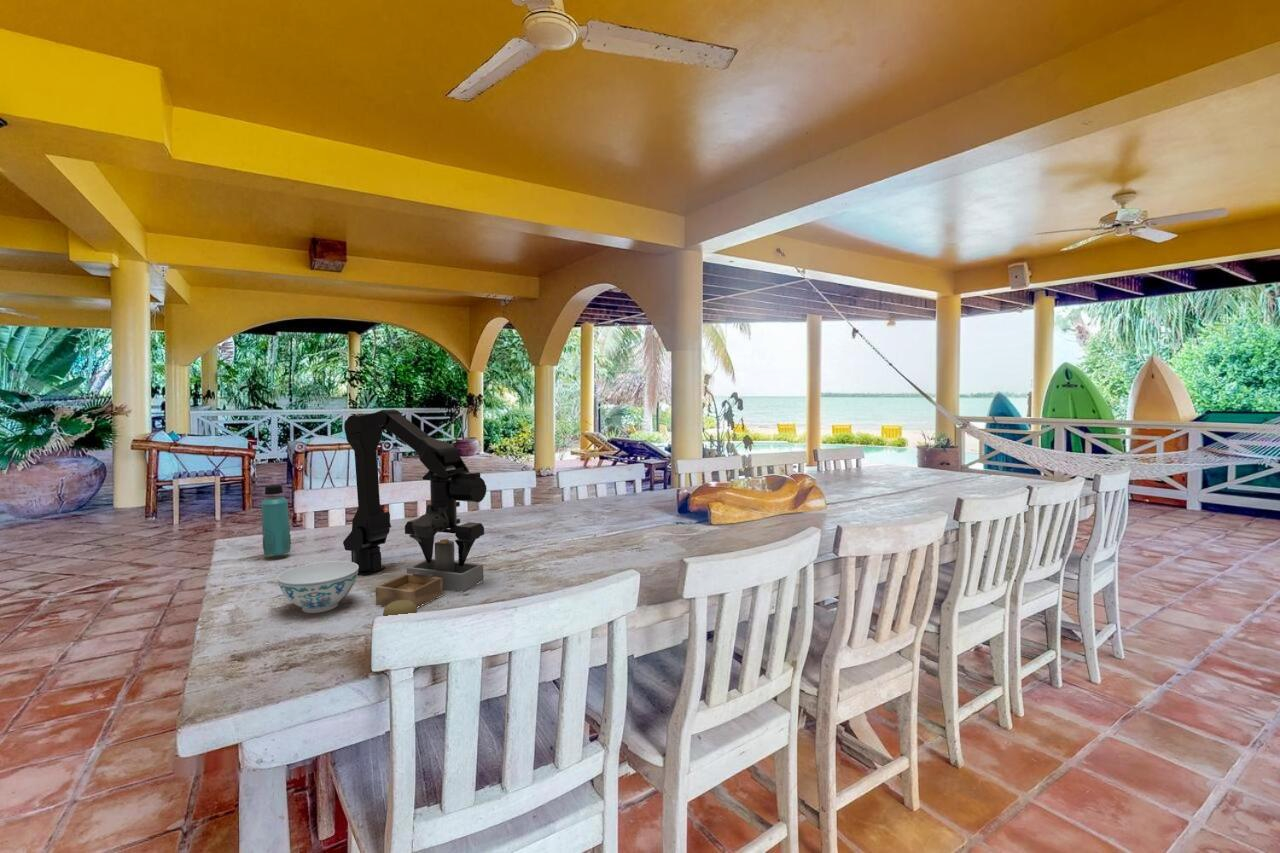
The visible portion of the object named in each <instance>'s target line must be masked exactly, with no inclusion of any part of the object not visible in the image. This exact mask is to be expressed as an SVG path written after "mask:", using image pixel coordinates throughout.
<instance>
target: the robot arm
mask: <svg viewBox="0 0 1280 853" xmlns="http://www.w3.org/2000/svg"><path fill="white" fill-rule="evenodd" d="M343 424H344V433H345V438H346V441H347V443H348V444H349V446H350V447H351V448H352V450H353V452H354V462H355V463H354V465H355V479H356V480H355V481H356V491H357V492H356V493H357V505H358V506H357V509H356V512H355V514H354V516H353V518H352V520H351V521H352V523H351V531H350V533H349V534H348V535H347V537H345V539H344V540H343V542H342V543H343V544H342V545H343V547H344V550H345V551H349V552H351V562H353V563H356V564H357V565H358V566H359V569H358V574H357V575H361V576H368V575H371V574H373V573H376V572H379V571H381V570H384V569H386V565H383V564H382V552H381V546H380V545H384V544H386V542H387V537H388V535H389V534H390V528H392V525H391V513H390V511H386V512H385V510H384V509H383V507H382V506H381V500H380V499H381V498H380V485H379V484H380V483H379V482H380V481H379V468H378V454H377V449H378V446H379V445H380V444H381V443H380V442H381V440H382V439H383V430H384V431H385V430H387V431H389V432H390V433H391V434H393V435H394V436H395V437H396V438H397V439H399V440H400V441H402V442H403V443H404V444H405V445H407V446H408V447H410V448H411V449H412V450H414V451H415V452H416V454H417V455H418V459H419V461H420V462H421V463H422V465H423V466H424V467H425V468H426V469H427V470H428V471H427V473H426V474H424V475H423V476H422V478H421V479H422V480H423V481H429V482H430V483H429V485H430V486H429V487H430V488H429V489H430V504H427V505H426V508H425V509H426V510H425V514H422V515H421V516H419V517H418V518H415V519H411V520H408V521H407V522H406V524H405V525H404V534H405V535H408V537H409V538H410V539H413V540H414V541H416V542H417V543H418V545H419V547H420V549H421V551H422V554H423V556H424V559H425V560H426V561H427V563H429V562H431V560H432V559H433V556H434V554H433V553H434V552H433V551H434V546H435V536H436V534H437V533H445V534H455V537H456V538H457V539H455V540H454V543H456V545H457V550H458V553H457V554H458V555H457V556H458V562H459V566H460V567H461V566H463V565H464V563H466V560H467V558H468V556H469V553H470V551H471V550H472V546H473V545H474V543H475V542H476V541H477V539H479V538H480V537H482V536H484V535H485V527H484V524H482V522H471V521H468V522H466V523H463V524H460V523H461V518H458V516H457V515H458V514H457V513H458V512H457V508H459V507H460V506H461V503H460V502H466V503H467V502H468V503H480V502H482V501H483V500H484V498H485V497H486V495H487V484H486V482H485V480H484V478H482V477H481V473H480V471H479V472H477V471H476V472H470V470H469V469H468V466H467V465H466V464H465V461H464V460H463V458H462V457H461V455H460V451H459V449H458V448H457V447H456V446H454V445H453V444H450V443H448V442H447V441H444V440H439V439H436V438H433V436H430V435H429V434H428V433H427V432H425V431H424V430H422V429H421V428H420V427H418V426H417V425H416V424H414V423H413V422H411V421H410V420H409V419H408V418H407V417H405V416H404V415H402V414H401V412H400V411H399V410H397V409H381V410H379V411H376V412H372V413H367V414H365V413H363V414H352V415H349V416H348V417H347V419H345V421H344V423H343ZM459 524H460V525H459Z"/></svg>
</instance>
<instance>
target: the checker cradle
mask: <svg viewBox="0 0 1280 853" xmlns="http://www.w3.org/2000/svg"><path fill="white" fill-rule="evenodd" d="M406 583H414V584H422V586H420V587H418V588H416V589H414V590H412V591H411V590H404V589H397V588H398V587H400V586H402V585H404V584H406ZM374 588H375V606H376V605H381V606H380V607H383V606H387V605H388V604H390V603H392V602H394V601H399V600H409V601H412V602H414V604H415V605H416V607H418V606H421V605H422V604H425V603H427V602H429V601H431V600H433V599H435V598H437V597H439V596H441V595H444V591H443V590H444V589H443V585H442V578H439V577H434V574H426V573H418V572H415V573H413V574H408V573H407V572H406V574H403V575H400V576H398V577H396V578H394V579H391V580H389V581H386V582H384V583H382V584H380V585H378V586H375V587H374ZM441 597H442V596H441ZM439 598H440V597H439ZM437 599H438V598H437ZM435 600H436V599H435ZM433 601H434V600H433ZM431 602H432V601H431ZM429 603H430V602H429ZM427 604H428V603H427ZM425 605H426V604H425Z"/></svg>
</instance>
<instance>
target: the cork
mask: <svg viewBox="0 0 1280 853" xmlns="http://www.w3.org/2000/svg"><path fill="white" fill-rule="evenodd" d="M408 613H417V614H418V609H417V607H416V605H415V604H414V602H412V601H409V600H399V601H394V602H392V603H390V604H388V605H387V606H386V607H384V609H383V612H382V617H383V616H388V615H398V614H408ZM418 669H420V667H419V668H415V670H414V672H416V671H417V670H418ZM383 674H384V675H385V676H388V675H387V673H383Z"/></svg>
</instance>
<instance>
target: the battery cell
mask: <svg viewBox="0 0 1280 853" xmlns="http://www.w3.org/2000/svg"><path fill="white" fill-rule="evenodd" d="M434 559H435V570H438V571H446V572H454V573H455V541H453V540H450V539H448V538H442V539H440V540H439V541H436V542H434Z"/></svg>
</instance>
